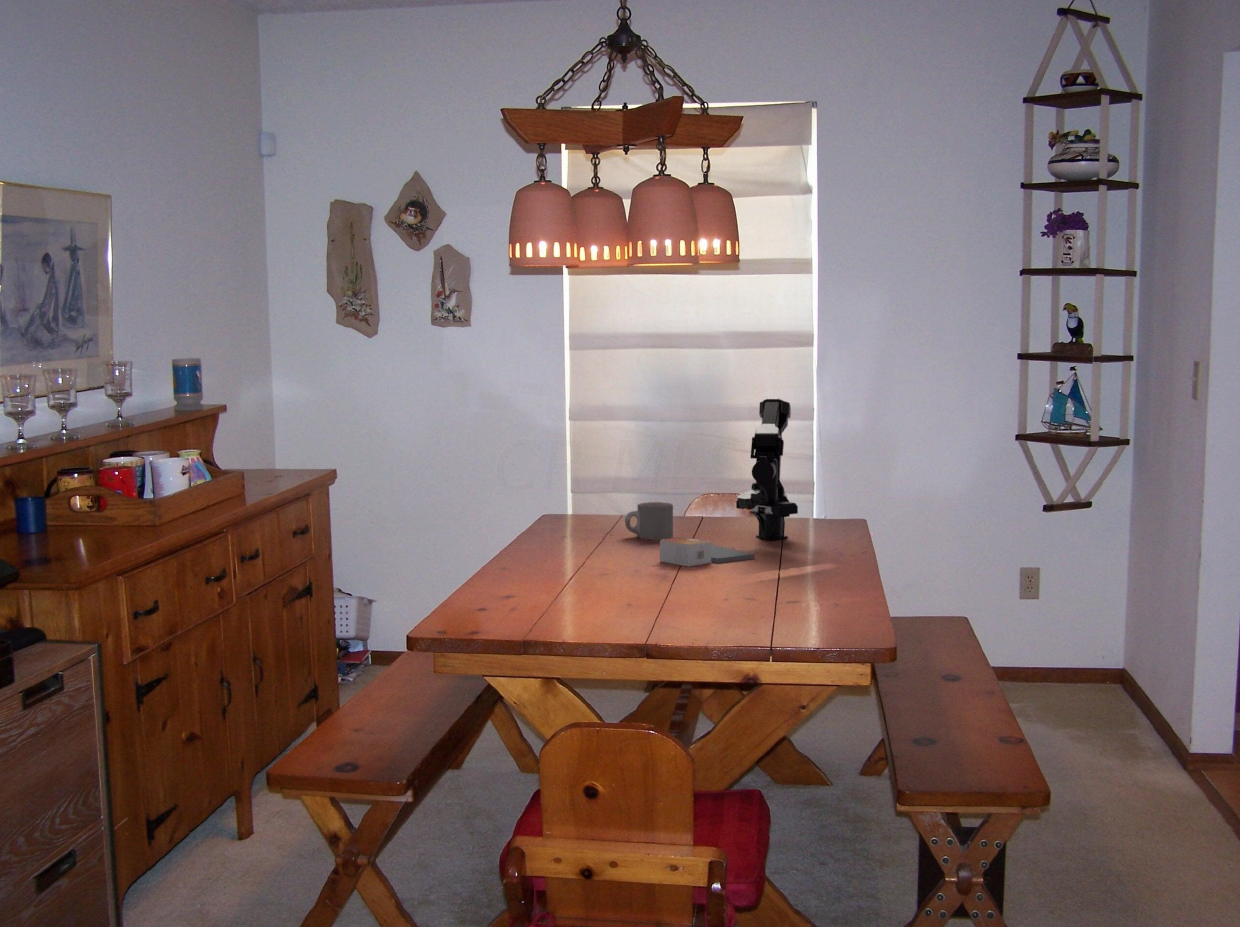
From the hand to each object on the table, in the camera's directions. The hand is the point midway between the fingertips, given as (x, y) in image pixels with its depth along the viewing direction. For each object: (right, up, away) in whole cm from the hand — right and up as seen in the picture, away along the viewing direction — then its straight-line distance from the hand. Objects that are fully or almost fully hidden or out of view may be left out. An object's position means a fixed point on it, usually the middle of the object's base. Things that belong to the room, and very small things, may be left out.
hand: (766, 538), depth 307 cm
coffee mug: (-31, -2, +19) cm, 36 cm away
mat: (-15, -4, -9) cm, 17 cm away
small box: (-19, -3, -23) cm, 29 cm away
